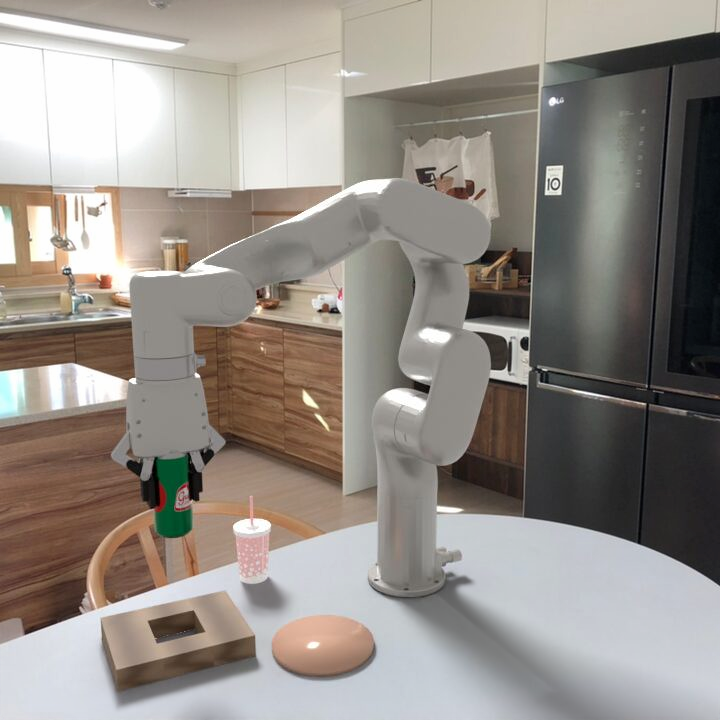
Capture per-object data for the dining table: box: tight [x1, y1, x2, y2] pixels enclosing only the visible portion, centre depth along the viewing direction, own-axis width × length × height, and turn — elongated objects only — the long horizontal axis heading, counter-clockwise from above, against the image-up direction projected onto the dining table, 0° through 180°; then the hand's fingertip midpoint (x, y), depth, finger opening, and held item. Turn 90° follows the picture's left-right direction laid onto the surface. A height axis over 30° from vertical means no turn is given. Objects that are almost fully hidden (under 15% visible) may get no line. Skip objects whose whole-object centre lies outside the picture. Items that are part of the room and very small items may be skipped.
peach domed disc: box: [271, 614, 375, 677], centre depth 105 cm, size 14×14×1 cm
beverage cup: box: [232, 495, 272, 585], centre depth 124 cm, size 6×6×14 cm
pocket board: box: [100, 589, 257, 692], centre depth 105 cm, size 18×14×3 cm
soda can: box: [151, 450, 194, 539], centre depth 101 cm, size 5×5×12 cm
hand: (172, 500), depth 102 cm, fingers closed on soda can, 5 cm apart
